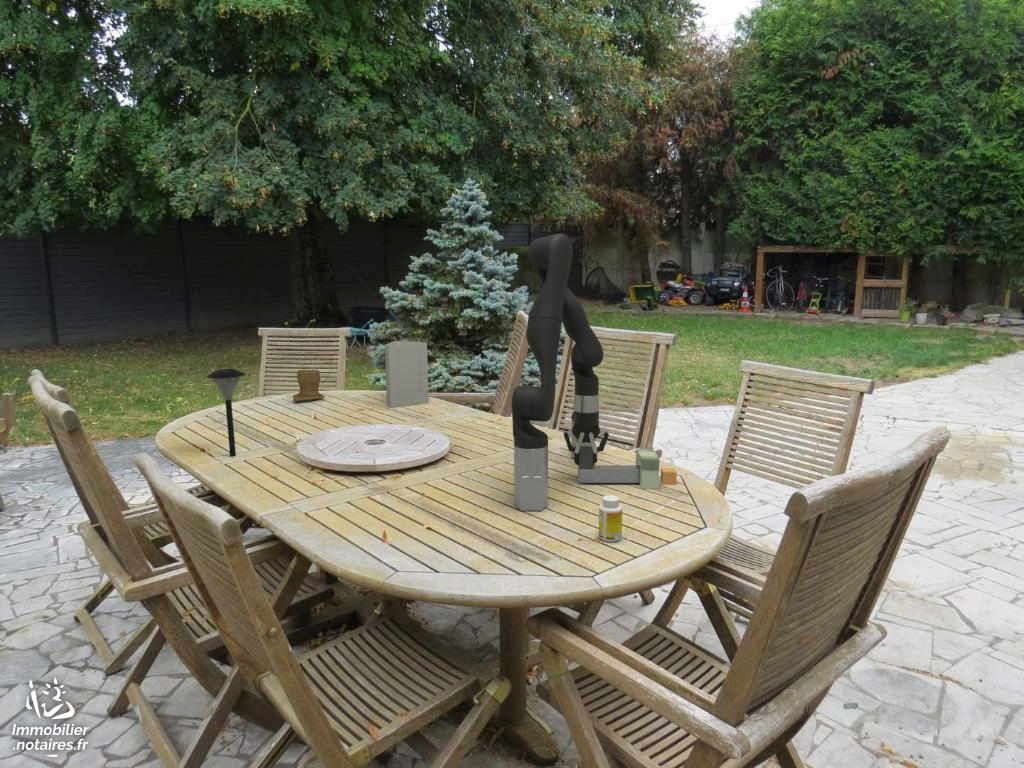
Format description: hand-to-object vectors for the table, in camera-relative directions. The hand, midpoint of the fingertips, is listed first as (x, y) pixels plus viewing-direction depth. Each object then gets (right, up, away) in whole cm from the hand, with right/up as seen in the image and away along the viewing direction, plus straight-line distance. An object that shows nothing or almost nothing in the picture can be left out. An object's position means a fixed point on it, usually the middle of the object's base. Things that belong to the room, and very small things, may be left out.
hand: (585, 464), depth 206 cm
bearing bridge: (+18, -6, +1) cm, 19 cm away
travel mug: (+2, -1, +27) cm, 27 cm away
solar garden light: (-118, -1, +30) cm, 122 cm away
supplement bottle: (+2, -13, -39) cm, 42 cm away
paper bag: (-72, +15, +113) cm, 135 cm away
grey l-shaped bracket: (+9, -5, +1) cm, 10 cm away
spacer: (+23, -4, +1) cm, 23 cm away
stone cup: (-119, +16, +120) cm, 170 cm away
